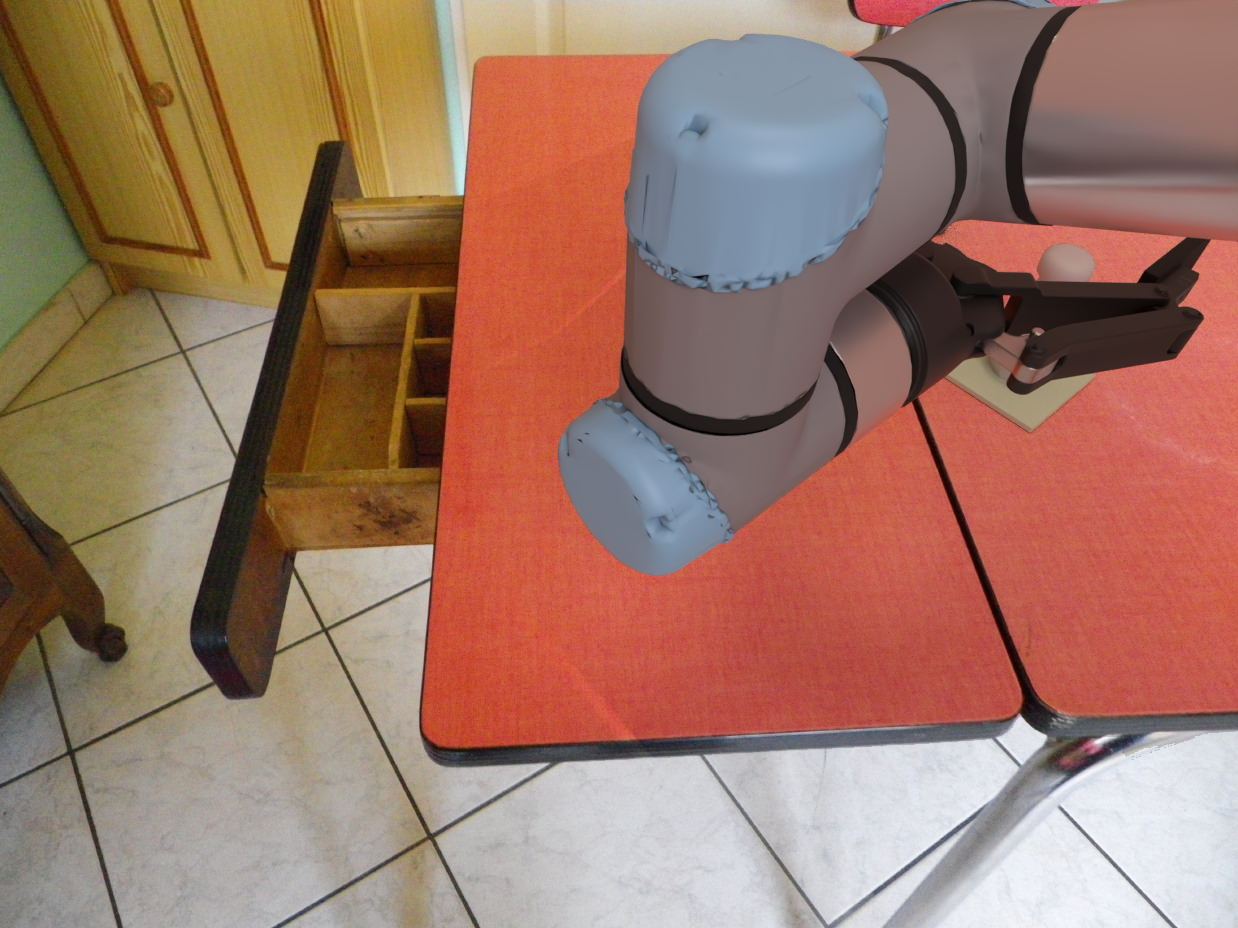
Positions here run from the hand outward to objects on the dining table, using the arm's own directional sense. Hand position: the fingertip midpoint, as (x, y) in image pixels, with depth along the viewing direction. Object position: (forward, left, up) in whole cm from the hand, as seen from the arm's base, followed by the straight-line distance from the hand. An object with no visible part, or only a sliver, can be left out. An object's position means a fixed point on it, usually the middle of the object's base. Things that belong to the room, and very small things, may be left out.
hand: (1083, 193), depth 50 cm
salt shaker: (+4, -18, -28) cm, 33 cm away
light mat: (+4, -18, -28) cm, 33 cm away
